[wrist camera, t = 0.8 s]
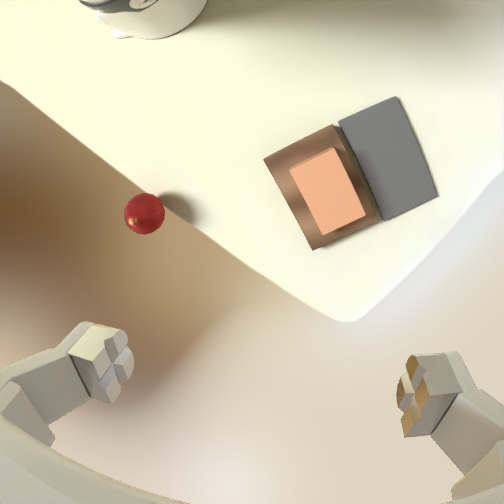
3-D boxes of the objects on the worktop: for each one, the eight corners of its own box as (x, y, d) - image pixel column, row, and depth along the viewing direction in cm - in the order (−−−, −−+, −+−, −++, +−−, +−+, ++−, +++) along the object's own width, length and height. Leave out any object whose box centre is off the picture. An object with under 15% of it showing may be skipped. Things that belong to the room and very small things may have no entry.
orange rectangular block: (289, 167, 37) (289, 170, 34) (331, 146, 35) (334, 148, 32) (321, 227, 40) (322, 235, 37) (361, 208, 38) (365, 215, 35)
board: (264, 158, 39) (263, 159, 37) (331, 124, 36) (332, 124, 34) (312, 245, 43) (312, 250, 41) (374, 216, 40) (377, 220, 38)
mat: (337, 121, 35) (338, 121, 35) (394, 96, 33) (395, 96, 32) (383, 219, 40) (384, 221, 39) (434, 194, 37) (437, 195, 36)
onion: (145, 228, 46) (120, 247, 39) (134, 193, 44) (106, 207, 36) (177, 220, 44) (154, 239, 37) (166, 184, 42) (140, 197, 35)
